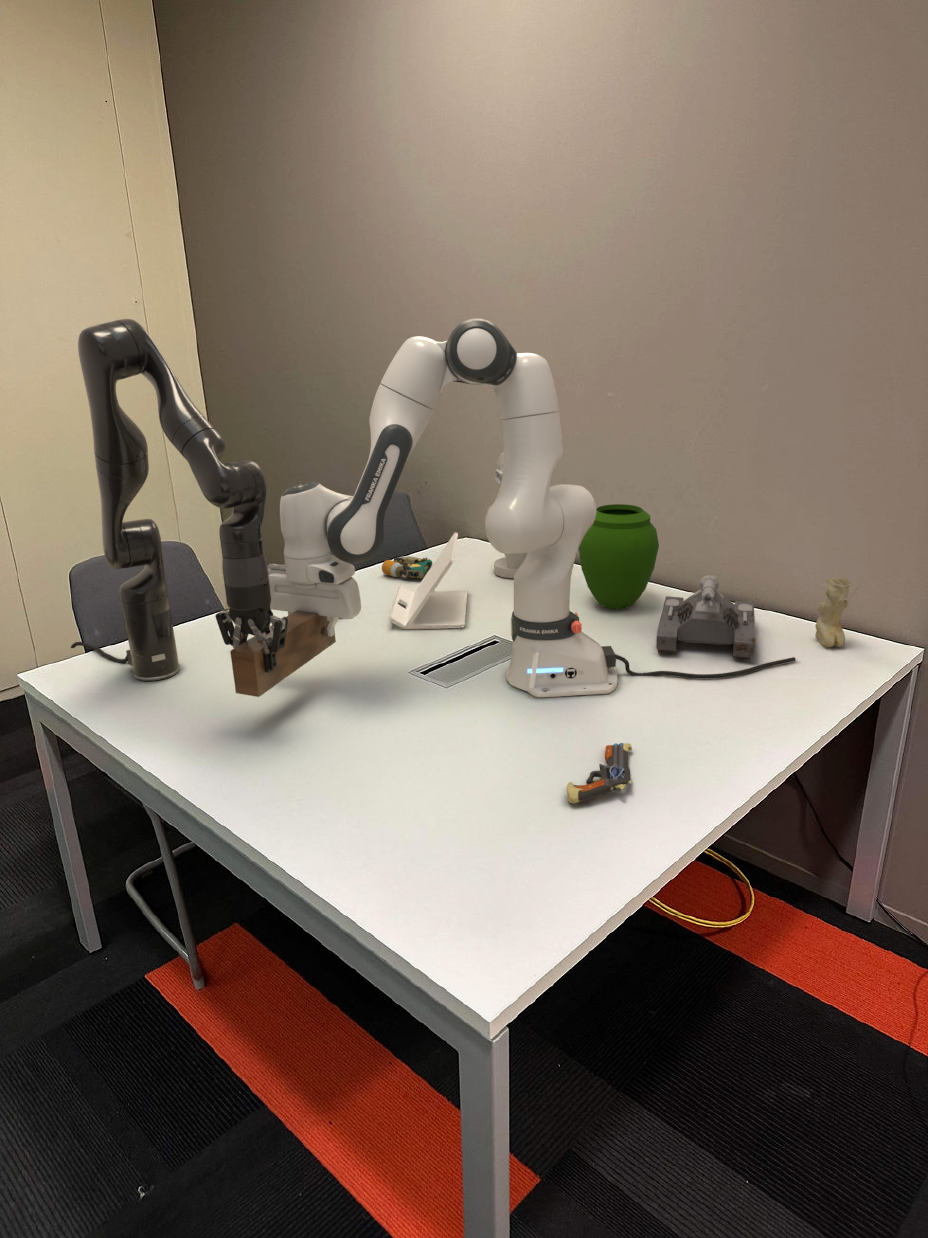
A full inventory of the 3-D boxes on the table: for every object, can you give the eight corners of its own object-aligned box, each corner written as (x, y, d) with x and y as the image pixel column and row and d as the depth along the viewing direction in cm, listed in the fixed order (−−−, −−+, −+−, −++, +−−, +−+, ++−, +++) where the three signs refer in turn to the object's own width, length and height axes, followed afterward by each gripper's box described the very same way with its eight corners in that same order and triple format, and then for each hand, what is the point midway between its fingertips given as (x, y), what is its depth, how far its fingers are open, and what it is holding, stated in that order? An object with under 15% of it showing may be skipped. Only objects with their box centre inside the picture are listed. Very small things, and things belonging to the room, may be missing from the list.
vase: (599, 587, 227) (601, 497, 218) (668, 600, 216) (673, 505, 208) (562, 608, 212) (564, 513, 204) (634, 623, 202) (639, 523, 193)
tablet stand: (467, 593, 225) (465, 531, 219) (465, 628, 202) (462, 559, 196) (399, 594, 226) (395, 532, 220) (388, 629, 203) (384, 560, 197)
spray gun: (401, 563, 255) (446, 570, 249) (372, 576, 240) (419, 584, 235) (401, 549, 254) (446, 556, 248) (372, 561, 239) (419, 569, 233)
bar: (314, 639, 175) (311, 601, 172) (335, 642, 173) (332, 603, 170) (235, 693, 152) (229, 650, 149) (259, 697, 150) (253, 654, 147)
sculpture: (821, 649, 184) (830, 583, 179) (808, 637, 191) (816, 573, 185) (848, 649, 184) (858, 582, 179) (834, 636, 191) (843, 572, 185)
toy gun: (564, 792, 130) (631, 790, 127) (572, 740, 147) (631, 737, 145) (566, 808, 130) (632, 807, 128) (574, 754, 148) (632, 752, 146)
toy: (664, 615, 206) (668, 556, 201) (751, 622, 200) (757, 561, 195) (655, 656, 183) (658, 590, 178) (753, 664, 178) (760, 596, 172)
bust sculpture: (503, 593, 225) (502, 460, 212) (483, 567, 247) (480, 445, 234) (562, 587, 228) (563, 456, 215) (536, 562, 250) (536, 441, 237)
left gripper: (198, 581, 146) (211, 671, 152) (269, 589, 141) (279, 682, 147) (225, 568, 153) (236, 656, 159) (293, 576, 148) (303, 666, 154)
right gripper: (253, 567, 166) (261, 633, 171) (346, 576, 159) (351, 645, 164) (272, 558, 171) (279, 622, 176) (362, 567, 164) (367, 633, 169)
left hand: (257, 668), depth 153 cm, fingers closed on bar, 5 cm apart
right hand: (314, 633), depth 170 cm, fingers open, 5 cm apart
